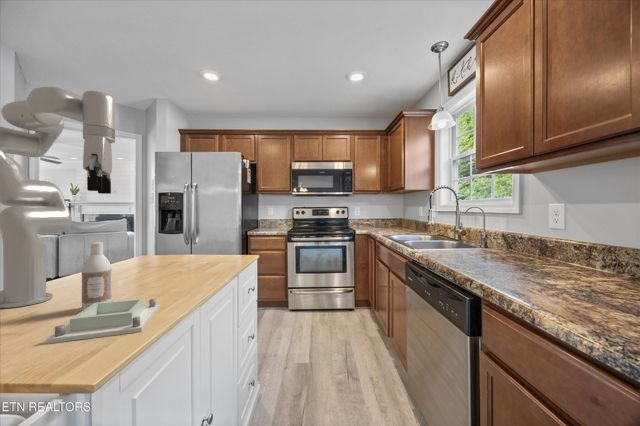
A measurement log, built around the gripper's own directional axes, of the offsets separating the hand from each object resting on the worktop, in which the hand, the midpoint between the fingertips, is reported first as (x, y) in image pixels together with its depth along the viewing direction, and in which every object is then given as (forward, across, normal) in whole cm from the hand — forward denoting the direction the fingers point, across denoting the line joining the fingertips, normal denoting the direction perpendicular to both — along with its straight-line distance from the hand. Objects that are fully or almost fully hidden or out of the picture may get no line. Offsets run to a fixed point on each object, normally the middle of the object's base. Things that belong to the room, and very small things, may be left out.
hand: (99, 192), depth 80 cm
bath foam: (+36, -3, -2) cm, 36 cm away
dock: (+35, +13, +5) cm, 38 cm away
